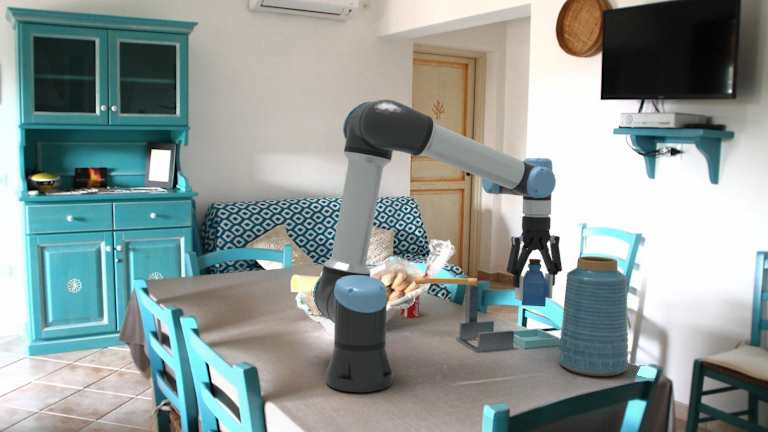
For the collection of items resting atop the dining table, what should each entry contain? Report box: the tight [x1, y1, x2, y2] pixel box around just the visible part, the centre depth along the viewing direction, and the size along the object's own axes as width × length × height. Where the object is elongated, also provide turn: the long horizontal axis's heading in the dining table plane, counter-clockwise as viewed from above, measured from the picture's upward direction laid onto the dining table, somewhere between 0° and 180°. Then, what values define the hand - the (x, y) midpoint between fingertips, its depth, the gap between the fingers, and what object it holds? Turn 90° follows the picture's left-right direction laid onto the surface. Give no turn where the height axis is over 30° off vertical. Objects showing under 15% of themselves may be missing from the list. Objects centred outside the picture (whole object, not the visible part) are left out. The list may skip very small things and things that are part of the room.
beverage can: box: [400, 295, 421, 319], centre depth 216 cm, size 6×6×12 cm
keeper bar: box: [414, 276, 478, 286], centre depth 196 cm, size 17×3×2 cm, turn 90°
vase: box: [557, 255, 629, 377], centre depth 169 cm, size 16×16×27 cm
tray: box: [512, 328, 561, 350], centre depth 191 cm, size 11×11×2 cm
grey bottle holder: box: [455, 284, 514, 353], centre depth 190 cm, size 16×11×15 cm
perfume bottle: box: [521, 258, 547, 307], centre depth 190 cm, size 6×6×12 cm
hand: (533, 298), depth 190 cm, fingers closed on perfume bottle, 8 cm apart
